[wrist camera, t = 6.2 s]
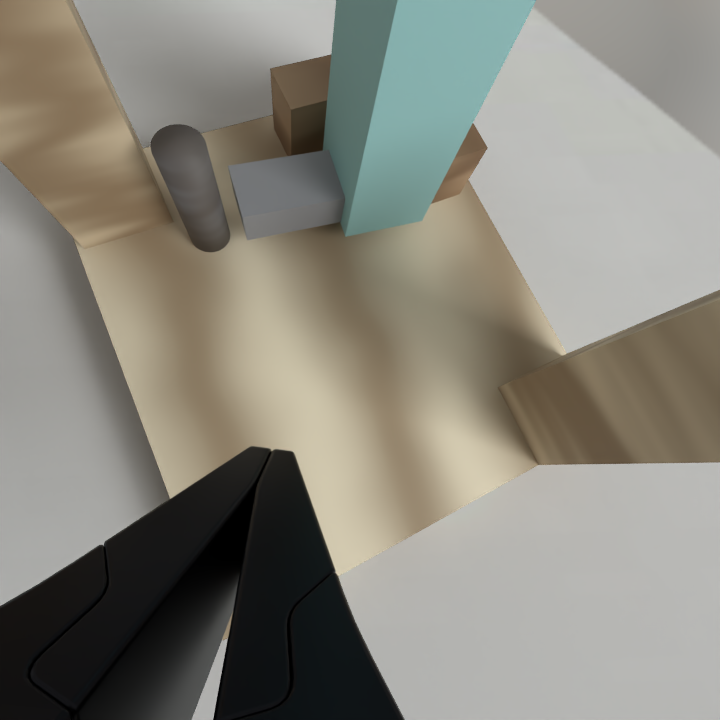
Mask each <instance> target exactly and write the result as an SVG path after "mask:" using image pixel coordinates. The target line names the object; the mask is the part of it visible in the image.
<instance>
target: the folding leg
mask: <svg viewBox="0 0 720 720" xmlns="http://www.w3.org/2000/svg"><path fill="white" fill-rule="evenodd" d="M535 1H536V0H336V9H335V20H334V32H333V43H332V54H331V65H330V76H329V87H328V98H327V109H326V120H325V131H324V142H323V151H318V152H311V153H305V154H299V155H292V156H286V157H280V158H274V159H267V160H261V161H255V162H248V163H242V164H236V165H229V166H228V169H229V173H230V178H231V183H232V187H233V192H234V195H235V199H236V203H237V206H238V210H239V213H240V217H241V220H242V224H243V227H244V231H245V234H246V238H247V240H252V239H257V238H262V237H267V236H272V235H277V234H282V233H287V232H292V231H297V230H302V229H307V228H313V227H318V226H323V225H328V224H333V223H338V222H340V223H341V226H342V229H343V232H344V235H345V237H347V236H352V235H357V234H361V233H366V232H371V231H376V230H381V229H386V228H390V227H395V226H400V225H405V224H410V223H415V222H419V221H422V220H423V218H424V216H425V214H426V212H427V210H428V208H429V206H430V204H431V202H432V201H433V199H434V197H435V195H436V193H437V191H438V189H439V187H440V185H441V183H442V181H443V179H444V177H445V175H446V174H447V172H448V170H449V168H450V166H451V164H452V162H453V160H454V158H455V156H456V154H457V152H458V150H459V148H460V146H461V145H462V143H463V141H464V139H465V137H466V135H467V133H468V131H469V129H470V127H471V125H472V123H473V121H474V119H475V117H476V116H477V114H478V112H479V110H480V108H481V106H482V104H483V102H484V100H485V98H486V96H487V94H488V92H489V90H490V88H491V87H492V85H493V83H494V81H495V79H496V77H497V75H498V73H499V71H500V69H501V67H502V65H503V63H504V61H505V60H506V58H507V56H508V54H509V52H510V50H511V48H512V46H513V44H514V42H515V40H516V38H517V36H518V34H519V32H520V31H521V29H522V27H523V25H524V23H525V21H526V19H527V17H528V15H529V13H530V11H531V9H532V7H533V5H534V3H535Z"/></svg>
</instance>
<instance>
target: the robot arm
mask: <svg viewBox="0 0 720 720" xmlns="http://www.w3.org/2000/svg"><path fill="white" fill-rule="evenodd" d="M335 572H336V570H335V567H334V564H333V561H332V559H331V556H330V553H329V550H328V547H327V544H326V542H325V539H324V536H323V533H322V530H321V527H320V525H319V522H318V519H317V516H316V513H315V510H314V508H313V505H312V502H311V499H310V496H309V493H308V490H307V488H306V485H305V482H304V479H303V476H302V473H301V471H300V468H299V465H298V462H297V459H296V456H295V454H294V452H293V451H288V450H280V449H274V450H273V451H271V449H270V448H265V447H258V446H250V447H248V448H247V449H245V450H244V451H242V452H241V453H239V454H238V455H236V456H235V457H233V458H231V459H230V460H228V461H227V462H225V463H224V464H222V465H221V466H219V467H218V468H216V469H215V470H213V471H212V472H210V473H209V474H207V475H206V476H204V477H203V478H201V479H200V480H198V481H196V482H195V483H193V484H192V485H190V486H189V487H187V488H186V489H184V490H183V491H181V492H180V493H178V494H177V495H175V496H174V497H172V498H171V499H169V500H168V501H166V502H164V503H163V504H161V505H160V506H158V507H157V508H155V509H154V510H152V511H151V512H149V513H148V514H146V515H145V516H143V517H142V518H140V519H139V520H137V521H136V522H134V523H133V524H131V525H129V526H128V527H126V528H125V529H123V530H122V531H120V532H119V533H117V534H116V535H114V536H113V537H111V538H110V539H108V540H107V541H105V542H104V546H103V545H99V546H97V547H96V548H94V549H93V550H91V551H90V552H88V553H87V554H85V555H84V556H82V557H80V558H79V559H77V560H76V561H74V562H73V563H71V564H69V565H68V566H66V567H65V568H63V569H62V570H60V571H58V572H57V573H55V574H54V575H52V576H50V577H49V578H47V579H46V580H44V581H42V582H41V583H39V584H38V585H36V586H34V587H32V588H31V589H29V590H27V591H25V592H24V593H22V594H20V595H19V596H17V597H15V598H13V599H12V600H10V601H8V602H6V603H5V604H3V605H1V606H0V720H191V719H192V717H193V714H194V712H195V709H196V706H197V704H198V701H199V698H200V696H201V693H202V691H203V688H204V685H205V683H206V680H207V678H208V675H209V672H210V670H211V667H212V664H213V662H214V659H215V657H216V654H217V651H218V649H219V646H220V643H221V641H222V638H223V636H224V633H225V630H226V628H227V625H228V623H229V620H230V617H231V615H232V619H231V625H230V630H229V636H228V641H227V647H226V652H225V658H224V663H223V669H222V674H221V680H220V685H219V691H218V696H217V702H216V707H215V713H214V718H213V720H405V719H404V717H403V716H402V714H401V712H400V710H399V708H398V706H397V704H396V702H395V700H394V698H393V696H392V694H391V692H390V690H389V688H388V687H387V685H386V683H385V681H384V679H383V677H382V675H381V673H380V671H379V669H378V667H377V665H376V663H375V661H374V659H373V658H372V656H371V654H370V651H369V649H368V647H367V645H366V643H365V641H364V639H363V637H362V635H361V633H360V631H359V629H358V626H357V624H356V622H355V620H354V617H353V615H352V612H351V610H350V607H349V605H348V602H347V600H346V597H345V595H344V592H343V589H342V586H341V583H340V581H339V578H338V575H337V574H336V573H335ZM232 612H233V614H232Z"/></svg>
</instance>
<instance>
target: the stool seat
mask: <svg viewBox="0 0 720 720" xmlns="http://www.w3.org/2000/svg"><path fill="white" fill-rule="evenodd" d="M330 65H331V55H327V56H323V57H319V58H314V59H310V60H306V61H301V62H297V63H293V64H288V65H284V66H280V67H275V68H271V69H270V70H271V87H272V104H273V115H270V116H267V117H263V118H259V119H255V120H251V121H247V122H243V123H239V124H236V125H232V126H228V127H224V128H220V129H216V130H212V131H208V132H205V133H201V134H200V133H199V132H198V131H197V130H195V129H194V128H192V127H189V126H186V125H169V126H166V127H164V128H162V129H160V130H159V131H158V132H157V133H156V134H155V135H154V136H153V138H152V141H151V146H150V147H147V148H142V146H141V144H140V142H139V140H138V138H137V136H136V133H135V131H134V129H133V127H132V125H131V123H130V121H129V119H128V117H127V114H126V112H125V110H124V108H123V106H122V104H121V102H120V100H119V98H118V95H117V93H116V91H115V89H114V87H113V85H112V83H111V81H110V79H109V76H108V74H107V72H106V70H105V68H104V66H103V64H102V62H101V59H100V57H99V55H98V53H97V51H96V49H95V47H94V45H93V43H92V40H91V38H90V36H89V34H88V32H87V30H86V28H85V26H84V24H83V21H82V19H81V17H80V15H79V13H78V11H77V9H76V7H75V5H74V2H73V0H0V161H1V162H2V163H3V164H4V165H5V166H6V167H7V168H8V169H9V170H10V171H11V172H12V173H13V174H14V175H15V177H16V178H17V179H18V180H19V181H20V182H21V183H22V184H23V185H24V186H25V187H26V188H27V189H28V190H29V191H30V192H31V193H32V194H33V195H34V196H35V197H36V199H37V200H38V201H39V202H40V203H41V204H42V205H43V206H44V207H45V208H46V209H47V210H48V211H49V212H50V213H51V214H52V215H53V216H54V217H55V218H56V219H57V220H58V222H59V223H60V224H61V225H62V226H63V227H64V228H65V229H66V230H67V231H68V232H69V233H70V234H71V235H72V236H73V239H74V241H75V244H76V247H77V249H78V252H79V255H80V257H81V260H82V263H83V266H84V268H85V271H86V274H87V276H88V279H89V282H90V284H91V287H92V290H93V292H94V295H95V298H96V301H97V303H98V306H99V309H100V311H101V314H102V317H103V319H104V322H105V325H106V327H107V330H108V333H109V335H110V338H111V341H112V344H113V346H114V349H115V352H116V354H117V357H118V360H119V362H120V365H121V368H122V370H123V373H124V376H125V379H126V381H127V384H128V387H129V389H130V392H131V395H132V397H133V400H134V403H135V405H136V408H137V411H138V413H139V416H140V419H141V422H142V424H143V427H144V430H145V432H146V435H147V438H148V440H149V443H150V446H151V448H152V451H153V454H154V456H155V459H156V462H157V465H158V467H159V470H160V473H161V475H162V478H163V481H164V483H165V486H166V489H167V491H168V494H169V497H170V499H171V498H172V497H174V496H175V495H177V494H178V493H180V492H181V491H183V490H184V489H186V488H187V487H189V486H190V485H192V484H193V483H195V482H196V481H198V480H200V479H201V478H203V477H204V476H206V475H207V474H209V473H210V472H212V471H213V470H215V469H216V468H218V467H219V466H221V465H222V464H224V463H225V462H227V461H228V460H230V459H231V458H233V457H235V456H236V455H238V454H239V453H241V452H242V451H244V450H245V449H247V448H248V447H250V446H258V447H265V448H270V449H271V451H273V450H274V449H280V450H288V451H293V452H294V454H295V456H296V459H297V462H298V465H299V468H300V471H301V473H302V476H303V479H304V482H305V485H306V488H307V490H308V493H309V496H310V499H311V502H312V505H313V508H314V510H315V513H316V516H317V519H318V522H319V525H320V527H321V530H322V533H323V536H324V539H325V542H326V544H327V547H328V550H329V553H330V556H331V559H332V561H333V564H334V567H335V570H336V572H335V573H336V574H337V575H338V576H340V575H342V574H343V573H345V572H347V571H349V570H351V569H352V568H354V567H356V566H358V565H360V564H361V563H363V562H365V561H367V560H369V559H370V558H372V557H374V556H376V555H378V554H379V553H381V552H383V551H385V550H387V549H388V548H390V547H392V546H394V545H396V544H397V543H399V542H401V541H403V540H404V539H406V538H408V537H410V536H412V535H413V534H415V533H417V532H419V531H421V530H422V529H424V528H426V527H428V526H430V525H431V524H433V523H435V522H437V521H439V520H440V519H442V518H444V517H446V516H448V515H449V514H451V513H453V512H455V511H457V510H458V509H460V508H462V507H464V506H466V505H467V504H469V503H471V502H473V501H475V500H476V499H478V498H480V497H482V496H483V495H485V494H487V493H489V492H491V491H492V490H494V489H496V488H498V487H500V486H501V485H503V484H505V483H507V482H509V481H510V480H512V479H514V478H516V477H518V476H519V475H521V474H523V473H525V472H527V471H528V470H530V469H532V468H534V467H536V466H537V465H559V464H632V463H704V462H720V290H718V291H716V292H713V293H711V294H709V295H706V296H704V297H702V298H699V299H697V300H694V301H692V302H690V303H687V304H685V305H682V306H680V307H678V308H675V309H673V310H670V311H668V312H666V313H663V314H661V315H659V316H656V317H654V318H651V319H649V320H647V321H644V322H642V323H639V324H637V325H635V326H632V327H630V328H627V329H625V330H623V331H620V332H618V333H616V334H613V335H611V336H608V337H606V338H604V339H601V340H599V341H596V342H594V343H592V344H589V345H587V346H584V347H582V348H580V349H577V350H575V351H573V352H570V353H568V354H567V353H566V351H565V350H564V348H563V346H562V344H561V343H560V341H559V339H558V337H557V335H556V334H555V332H554V330H553V328H552V327H551V325H550V323H549V321H548V320H547V318H546V316H545V314H544V313H543V311H542V309H541V307H540V306H539V304H538V302H537V300H536V298H535V297H534V295H533V293H532V291H531V290H530V288H529V286H528V284H527V283H526V281H525V279H524V277H523V276H522V274H521V272H520V270H519V268H518V267H517V265H516V263H515V261H514V260H513V258H512V256H511V254H510V253H509V251H508V249H507V247H506V246H505V244H504V242H503V240H502V239H501V237H500V235H499V233H498V231H497V230H496V228H495V226H494V224H493V223H492V221H491V219H490V217H489V216H488V214H487V212H486V210H485V209H484V207H483V205H482V203H481V202H480V200H479V198H478V196H477V194H476V193H475V191H474V189H473V187H472V186H471V184H470V182H469V180H468V179H469V178H470V176H471V174H472V173H473V171H474V169H475V168H476V166H477V164H478V163H479V161H480V159H481V158H482V156H483V155H484V153H485V151H486V150H487V146H486V144H485V143H484V141H483V139H482V138H481V136H480V134H479V132H478V131H477V129H476V127H475V126H474V124H473V123H472V125H471V127H470V129H469V131H468V133H467V135H466V137H465V139H464V141H463V143H462V145H461V146H460V148H459V150H458V152H457V154H456V156H455V158H454V160H453V162H452V164H451V166H450V168H449V170H448V172H447V174H446V175H445V177H444V179H443V181H442V183H441V185H440V187H439V189H438V191H437V193H436V195H435V197H434V199H433V201H432V202H431V204H430V206H429V208H428V210H427V212H426V214H425V216H424V218H423V220H422V221H419V222H415V223H410V224H405V225H400V226H395V227H390V228H386V229H381V230H376V231H371V232H366V233H361V234H357V235H352V236H347V237H345V235H344V232H343V229H342V226H341V223H340V222H338V223H333V224H328V225H323V226H318V227H313V228H307V229H302V230H297V231H292V232H287V233H282V234H277V235H272V236H267V237H262V238H257V239H252V240H247V238H246V234H245V231H244V227H243V224H242V220H241V217H240V213H239V210H238V206H237V203H236V199H235V195H234V192H233V187H232V183H231V178H230V173H229V169H228V166H229V165H236V164H242V163H248V162H255V161H261V160H267V159H274V158H280V157H286V156H292V155H299V154H305V153H311V152H318V151H323V142H324V131H325V120H326V109H327V98H328V87H329V76H330ZM232 614H233V612H232ZM231 619H232V615H231V617H230V620H229V623H228V625H227V628H226V630H225V633H224V636H223V638H222V639H223V640H225V639H227V638H228V636H229V630H230V625H231Z"/></svg>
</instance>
